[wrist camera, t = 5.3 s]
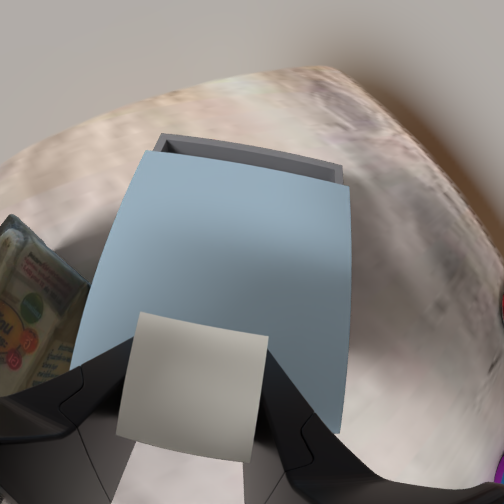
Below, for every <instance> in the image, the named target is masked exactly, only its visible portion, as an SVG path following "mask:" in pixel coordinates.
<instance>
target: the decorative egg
mask: <svg viewBox="0 0 504 504" xmlns="http://www.w3.org/2000/svg"><path fill="white" fill-rule="evenodd" d="M494 482H495V483H501V484H504V455H503V457H502V459H501V461H500V463H499V465H498V468H497V471H496V475H495V480H494ZM503 504H504V503H503Z"/></svg>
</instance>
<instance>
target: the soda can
mask: <svg viewBox="0 0 504 504" xmlns="http://www.w3.org/2000/svg"><path fill="white" fill-rule="evenodd" d="M502 319H503V324H504V295H503V301H502Z"/></svg>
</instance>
